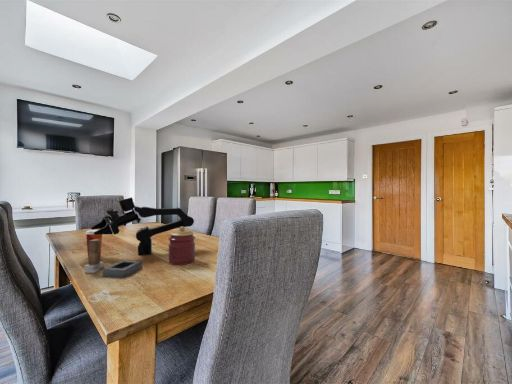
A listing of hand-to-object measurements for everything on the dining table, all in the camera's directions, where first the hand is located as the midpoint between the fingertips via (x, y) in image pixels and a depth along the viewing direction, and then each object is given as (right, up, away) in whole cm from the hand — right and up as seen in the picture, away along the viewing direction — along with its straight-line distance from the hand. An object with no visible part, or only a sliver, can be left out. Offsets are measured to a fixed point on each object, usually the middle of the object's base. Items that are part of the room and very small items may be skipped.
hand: (92, 231), depth 119 cm
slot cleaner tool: (+10, -15, -14) cm, 23 cm away
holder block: (+24, -15, -15) cm, 32 cm away
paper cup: (-4, -15, +7) cm, 17 cm away
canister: (+45, -16, +1) cm, 47 cm away
